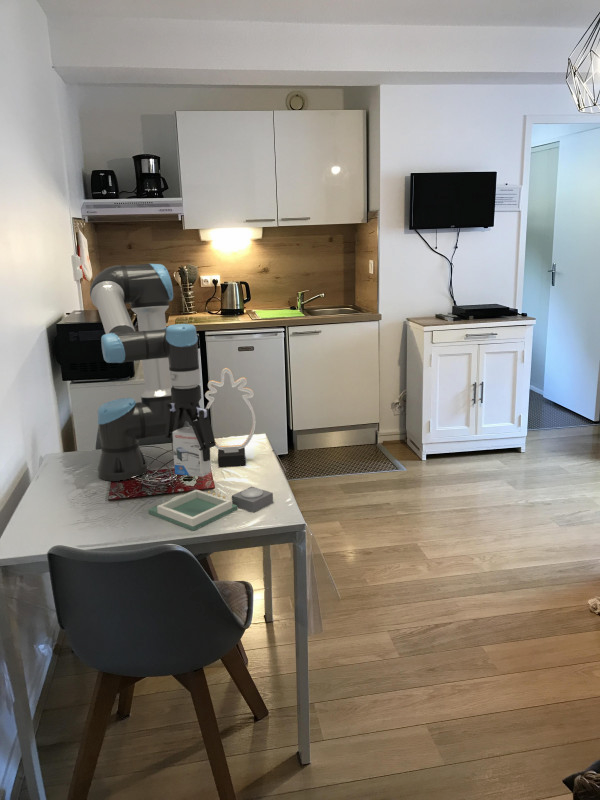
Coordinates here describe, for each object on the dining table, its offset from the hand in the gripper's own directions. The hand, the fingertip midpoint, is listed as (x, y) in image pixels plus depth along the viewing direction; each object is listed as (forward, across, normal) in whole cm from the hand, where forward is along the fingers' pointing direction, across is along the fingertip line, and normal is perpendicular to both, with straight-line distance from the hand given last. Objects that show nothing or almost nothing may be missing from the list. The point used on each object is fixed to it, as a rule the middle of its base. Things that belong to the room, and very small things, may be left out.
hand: (192, 468), depth 170 cm
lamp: (+13, -21, +35) cm, 43 cm away
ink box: (+1, 0, 0) cm, 2 cm away
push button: (+13, +8, +14) cm, 21 cm away
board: (+13, -2, +1) cm, 14 cm away
